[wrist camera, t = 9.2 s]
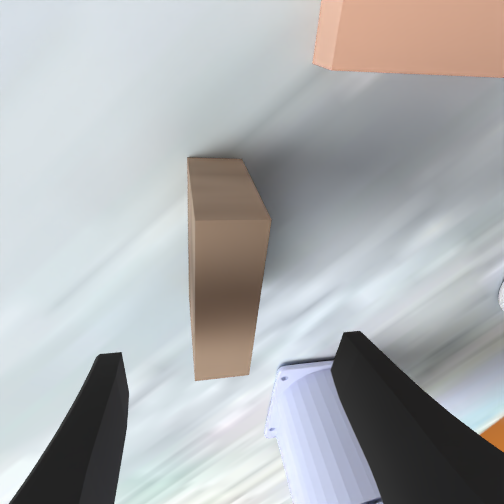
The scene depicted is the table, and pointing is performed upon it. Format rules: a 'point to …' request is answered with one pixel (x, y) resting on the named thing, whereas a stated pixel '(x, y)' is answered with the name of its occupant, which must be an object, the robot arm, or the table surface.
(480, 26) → the glazed tile
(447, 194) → the table surface
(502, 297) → the supplement bottle
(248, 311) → the bar
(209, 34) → the table surface
